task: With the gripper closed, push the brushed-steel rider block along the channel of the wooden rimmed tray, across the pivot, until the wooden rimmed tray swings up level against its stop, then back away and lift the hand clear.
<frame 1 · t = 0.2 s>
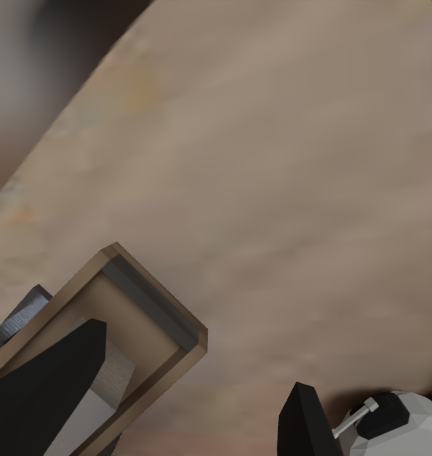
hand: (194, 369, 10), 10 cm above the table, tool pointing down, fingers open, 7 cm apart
wooden rimmed tray: (27, 421, 19), point 6 cm above the table, hinge at 12.5°
pivot stand: (77, 360, 25), on the table
rider: (82, 367, 19), point 5 cm above the table
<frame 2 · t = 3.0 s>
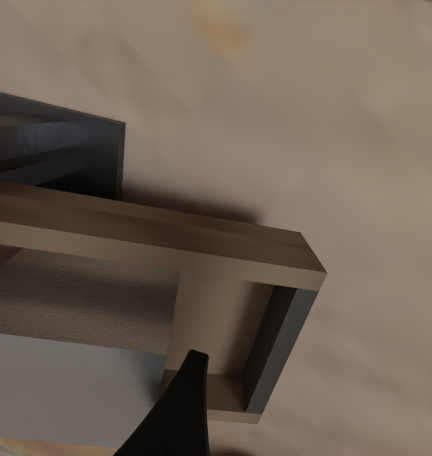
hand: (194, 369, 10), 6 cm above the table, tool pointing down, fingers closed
pivot stand: (64, 231, 17), on the table
rider: (113, 308, 12), point 5 cm above the table, touching gripper
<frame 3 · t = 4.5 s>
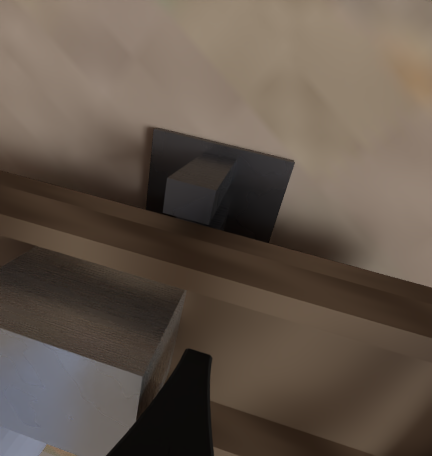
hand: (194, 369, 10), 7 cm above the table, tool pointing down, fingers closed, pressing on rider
wooden rimmed tray: (165, 333, 11), point 6 cm above the table, hinge at -0.5°
pivot stand: (200, 260, 17), on the table
rider: (120, 313, 12), point 6 cm above the table, tilted 13°, touching gripper
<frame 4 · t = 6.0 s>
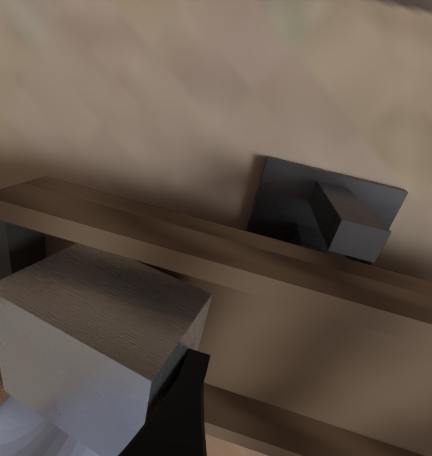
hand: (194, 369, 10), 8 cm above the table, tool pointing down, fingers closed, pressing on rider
wooden rimmed tray: (299, 360, 12), point 6 cm above the table, hinge at -1.0°, touching rider
pivot stand: (291, 280, 17), on the table
rider: (146, 315, 12), point 6 cm above the table, tilted 23°, touching wooden rimmed tray, gripper
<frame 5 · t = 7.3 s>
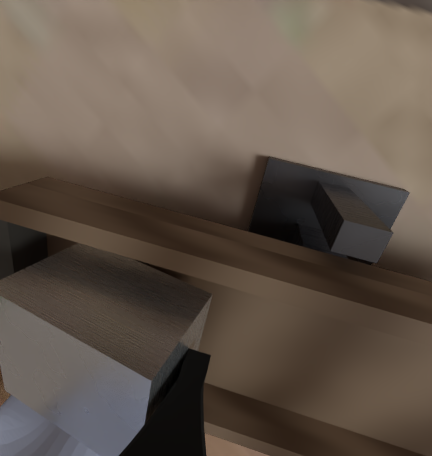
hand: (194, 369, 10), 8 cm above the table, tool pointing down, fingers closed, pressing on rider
wooden rimmed tray: (301, 360, 12), point 6 cm above the table, hinge at -1.0°, touching rider
pivot stand: (292, 281, 17), on the table
rider: (147, 315, 12), point 6 cm above the table, tilted 24°, touching wooden rimmed tray, gripper
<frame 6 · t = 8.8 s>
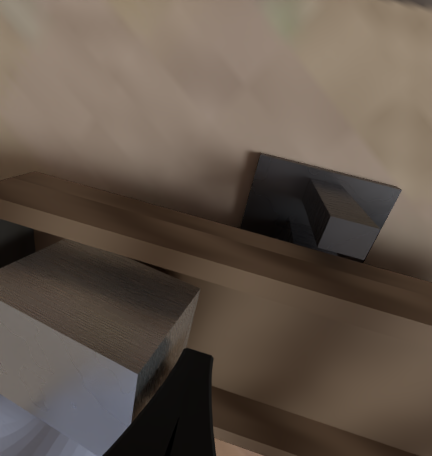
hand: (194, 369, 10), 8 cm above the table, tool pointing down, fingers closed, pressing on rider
wooden rimmed tray: (289, 358, 12), point 6 cm above the table, hinge at -0.8°, touching rider
pivot stand: (284, 278, 17), on the table
rider: (135, 311, 12), point 6 cm above the table, tilted 22°, touching wooden rimmed tray, gripper
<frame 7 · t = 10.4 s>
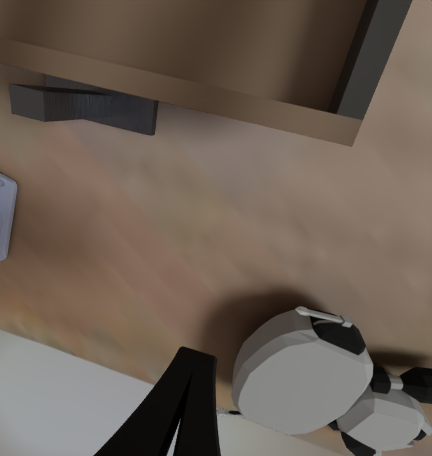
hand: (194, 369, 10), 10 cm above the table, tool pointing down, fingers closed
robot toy: (328, 360, 23), on the table
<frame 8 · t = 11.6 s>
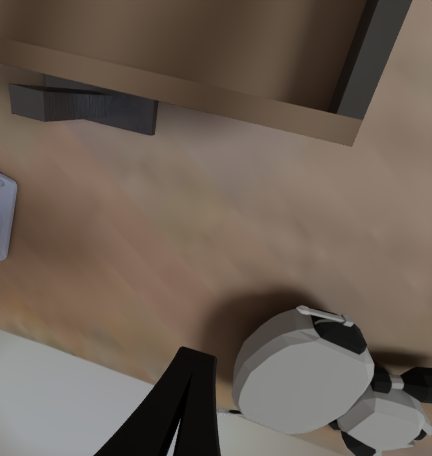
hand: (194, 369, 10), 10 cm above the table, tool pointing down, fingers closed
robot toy: (328, 359, 23), on the table
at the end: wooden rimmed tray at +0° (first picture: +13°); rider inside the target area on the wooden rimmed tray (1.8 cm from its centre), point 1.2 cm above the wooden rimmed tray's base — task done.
